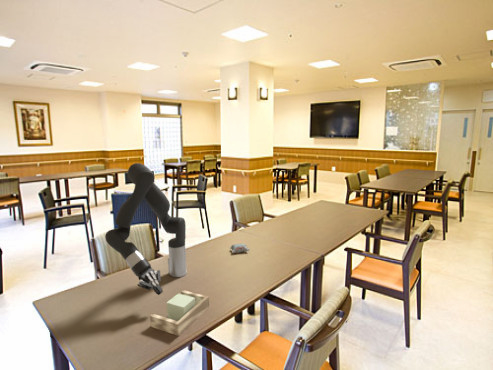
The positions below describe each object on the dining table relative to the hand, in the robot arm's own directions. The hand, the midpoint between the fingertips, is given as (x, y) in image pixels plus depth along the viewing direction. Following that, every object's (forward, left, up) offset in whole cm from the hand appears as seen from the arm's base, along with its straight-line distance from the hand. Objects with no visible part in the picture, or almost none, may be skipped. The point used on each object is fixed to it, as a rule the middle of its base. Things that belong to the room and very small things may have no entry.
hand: (160, 293), depth 132 cm
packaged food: (+2, +75, -8) cm, 75 cm away
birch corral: (+11, 0, -8) cm, 14 cm away
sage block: (+12, -1, -8) cm, 14 cm away
